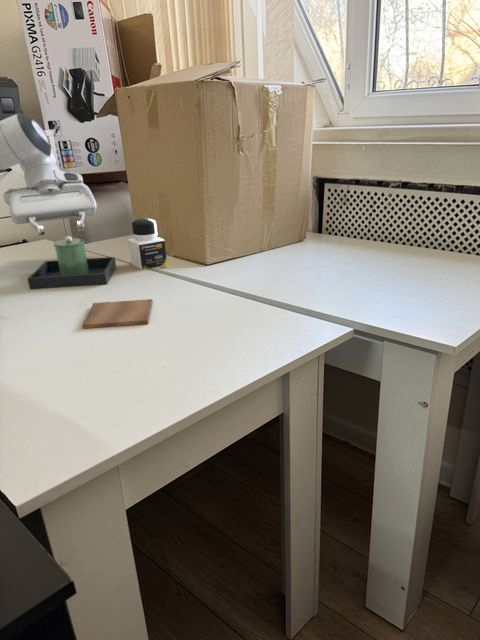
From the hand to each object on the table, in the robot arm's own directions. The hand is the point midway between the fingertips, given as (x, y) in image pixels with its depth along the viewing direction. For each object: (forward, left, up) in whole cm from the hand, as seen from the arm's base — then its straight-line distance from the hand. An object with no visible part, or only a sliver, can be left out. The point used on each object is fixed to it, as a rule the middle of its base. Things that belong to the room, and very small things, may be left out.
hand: (62, 231), depth 124 cm
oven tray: (+3, -6, -11) cm, 12 cm away
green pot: (+3, -6, -10) cm, 12 cm away
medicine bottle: (+20, +2, -11) cm, 22 cm away
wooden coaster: (+17, -33, -11) cm, 38 cm away
